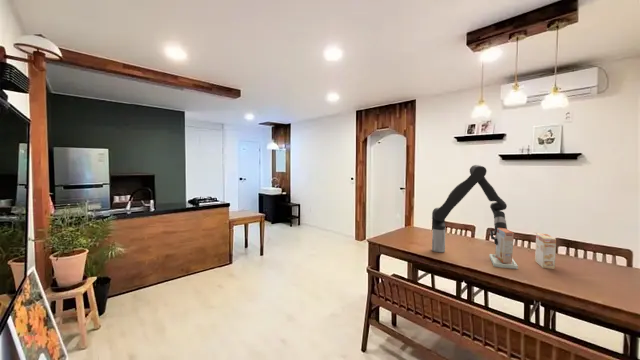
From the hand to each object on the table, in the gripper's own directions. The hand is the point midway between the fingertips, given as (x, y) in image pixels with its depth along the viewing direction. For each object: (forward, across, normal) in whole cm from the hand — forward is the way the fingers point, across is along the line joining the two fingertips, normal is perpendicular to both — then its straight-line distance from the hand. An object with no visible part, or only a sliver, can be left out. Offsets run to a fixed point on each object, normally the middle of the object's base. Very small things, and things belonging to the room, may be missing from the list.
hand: (502, 244), depth 205 cm
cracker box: (+9, 0, +5) cm, 10 cm away
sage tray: (+10, 0, +6) cm, 12 cm away
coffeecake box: (+6, +25, +11) cm, 28 cm away
